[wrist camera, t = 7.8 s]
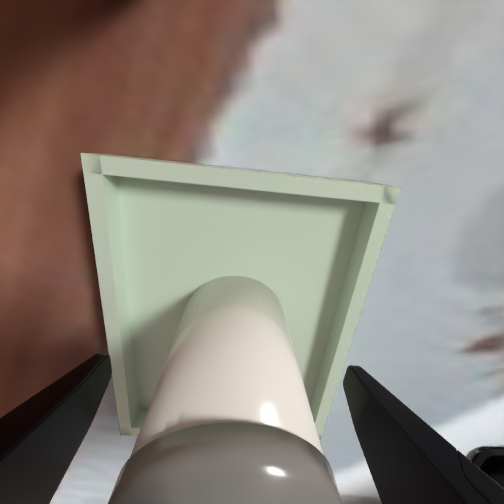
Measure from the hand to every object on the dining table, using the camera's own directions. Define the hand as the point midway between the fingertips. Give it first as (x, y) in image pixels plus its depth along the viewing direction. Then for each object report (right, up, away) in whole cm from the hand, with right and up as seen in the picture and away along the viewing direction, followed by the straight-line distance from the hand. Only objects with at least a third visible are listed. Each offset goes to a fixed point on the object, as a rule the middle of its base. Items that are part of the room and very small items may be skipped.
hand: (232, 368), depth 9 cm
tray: (0, +1, +3) cm, 3 cm away
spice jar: (0, +1, +3) cm, 3 cm away
